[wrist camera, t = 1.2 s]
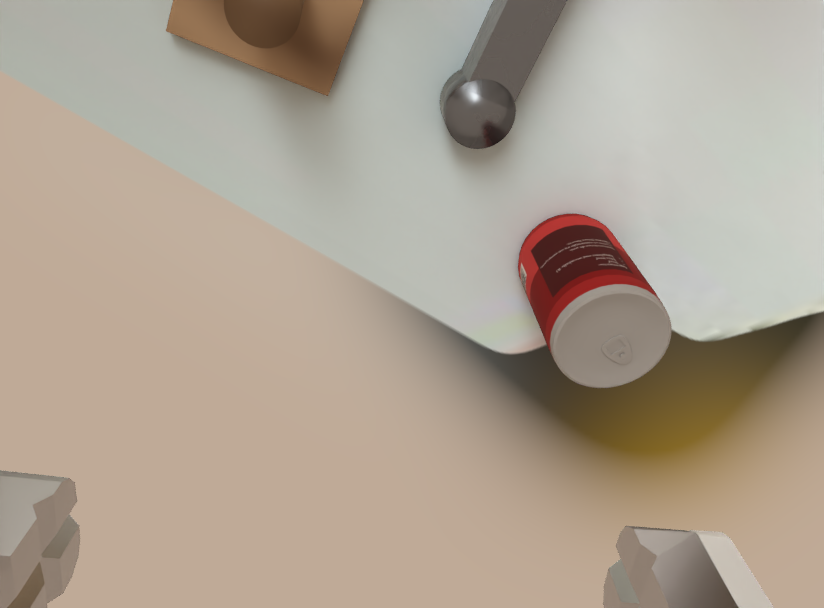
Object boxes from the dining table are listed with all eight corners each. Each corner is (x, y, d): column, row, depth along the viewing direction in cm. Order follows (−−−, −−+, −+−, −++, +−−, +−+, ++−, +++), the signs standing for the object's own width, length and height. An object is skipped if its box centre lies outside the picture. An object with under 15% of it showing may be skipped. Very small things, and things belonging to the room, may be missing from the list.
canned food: (568, 314, 56) (613, 406, 47) (493, 268, 53) (526, 356, 44) (636, 244, 53) (699, 328, 44) (561, 191, 50) (611, 268, 41)
